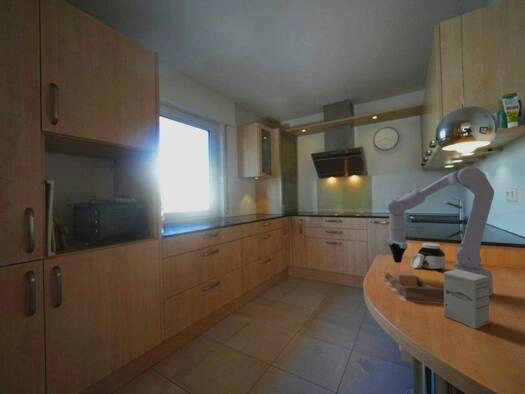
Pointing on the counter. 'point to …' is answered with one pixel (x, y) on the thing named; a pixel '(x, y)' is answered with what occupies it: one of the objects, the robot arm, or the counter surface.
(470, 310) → the supplement box
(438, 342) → the counter surface
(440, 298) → the channel
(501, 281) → the counter surface
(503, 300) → the counter surface
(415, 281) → the block
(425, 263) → the spread jar
